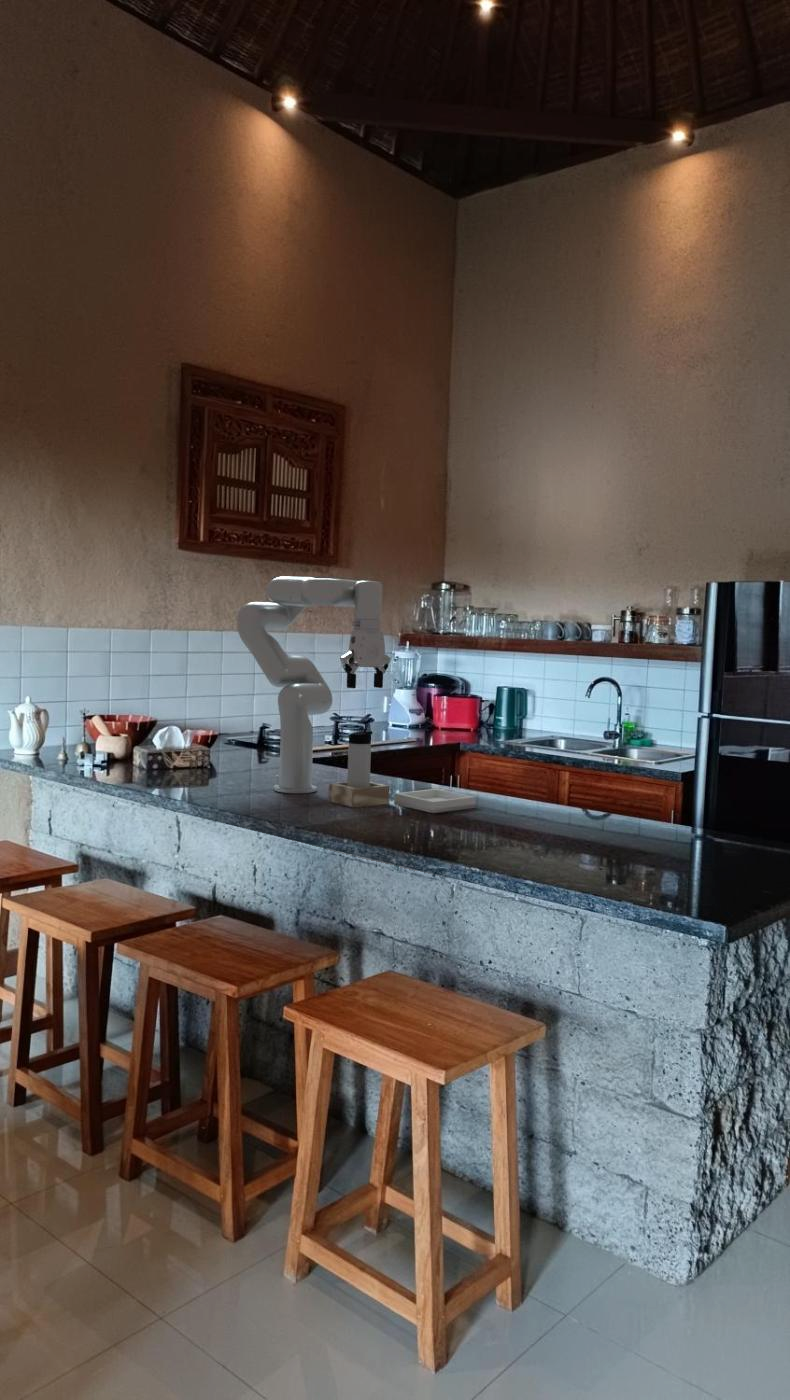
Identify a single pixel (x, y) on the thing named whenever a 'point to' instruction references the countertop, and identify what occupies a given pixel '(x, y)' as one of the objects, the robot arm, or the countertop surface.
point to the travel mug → (359, 759)
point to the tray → (434, 800)
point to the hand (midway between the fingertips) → (364, 687)
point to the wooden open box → (359, 794)
